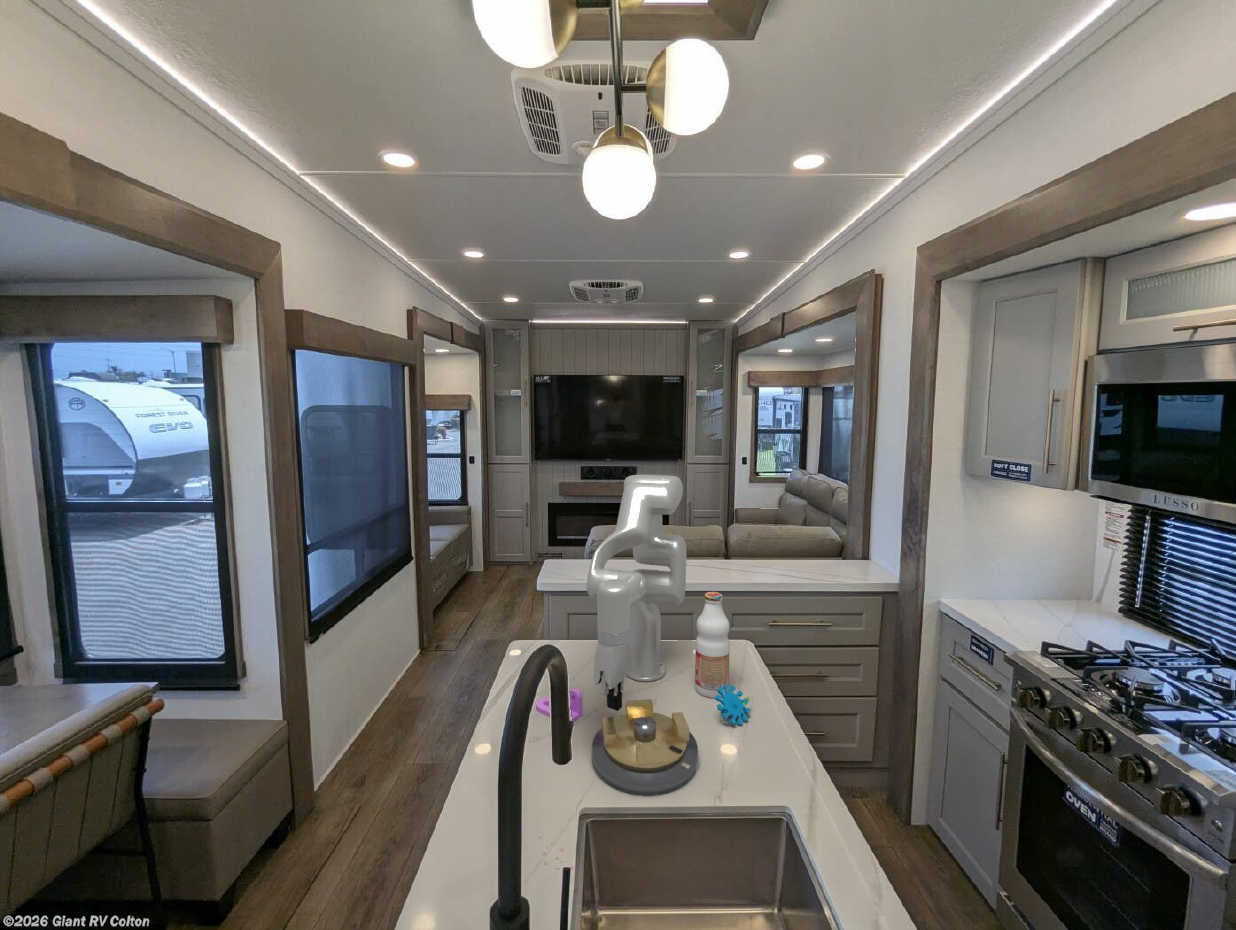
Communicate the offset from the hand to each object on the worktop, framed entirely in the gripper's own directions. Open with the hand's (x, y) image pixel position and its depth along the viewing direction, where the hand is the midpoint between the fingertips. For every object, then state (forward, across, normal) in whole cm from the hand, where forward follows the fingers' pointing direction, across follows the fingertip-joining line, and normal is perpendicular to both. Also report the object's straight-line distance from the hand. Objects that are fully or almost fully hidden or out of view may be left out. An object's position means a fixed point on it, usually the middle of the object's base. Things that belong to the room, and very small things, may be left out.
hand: (614, 707), depth 123 cm
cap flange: (+9, +1, +8) cm, 12 cm away
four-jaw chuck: (+6, +1, +9) cm, 10 cm away
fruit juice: (+10, -34, +12) cm, 37 cm away
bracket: (+10, -3, -20) cm, 22 cm away
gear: (+10, -24, +21) cm, 34 cm away
